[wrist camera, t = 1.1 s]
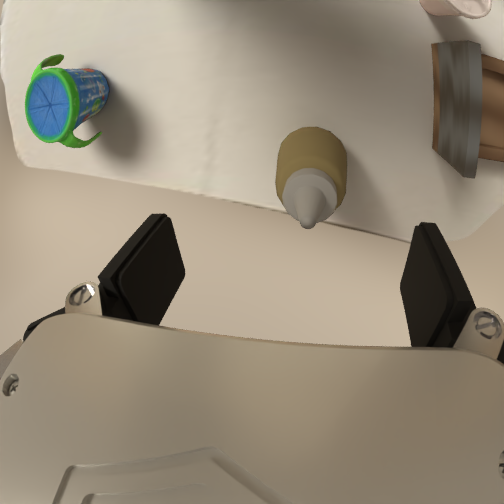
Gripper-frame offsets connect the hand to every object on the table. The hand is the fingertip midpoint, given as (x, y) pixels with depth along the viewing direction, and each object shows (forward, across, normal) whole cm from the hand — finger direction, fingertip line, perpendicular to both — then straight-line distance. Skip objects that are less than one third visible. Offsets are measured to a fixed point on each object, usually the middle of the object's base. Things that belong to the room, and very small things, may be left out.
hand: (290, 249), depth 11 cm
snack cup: (+28, +31, -8) cm, 43 cm away
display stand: (+28, -23, -4) cm, 36 cm away
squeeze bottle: (+28, 0, +5) cm, 28 cm away
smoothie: (+28, -16, -17) cm, 37 cm away
